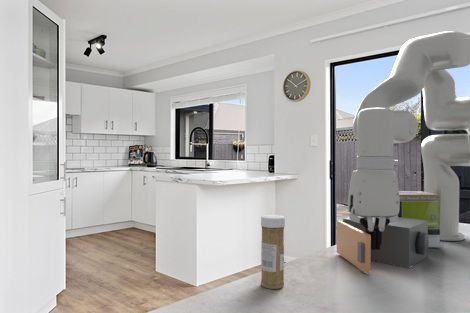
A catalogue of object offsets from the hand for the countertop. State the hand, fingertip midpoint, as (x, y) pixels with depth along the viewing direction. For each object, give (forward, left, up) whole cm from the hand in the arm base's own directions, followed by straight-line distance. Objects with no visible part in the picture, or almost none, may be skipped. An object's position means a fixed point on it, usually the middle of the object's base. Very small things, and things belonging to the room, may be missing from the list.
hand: (373, 248), depth 80 cm
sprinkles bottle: (+23, -10, -5) cm, 26 cm away
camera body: (-13, -3, -5) cm, 14 cm away
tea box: (-30, -3, -5) cm, 30 cm away
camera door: (0, -5, -4) cm, 7 cm away
